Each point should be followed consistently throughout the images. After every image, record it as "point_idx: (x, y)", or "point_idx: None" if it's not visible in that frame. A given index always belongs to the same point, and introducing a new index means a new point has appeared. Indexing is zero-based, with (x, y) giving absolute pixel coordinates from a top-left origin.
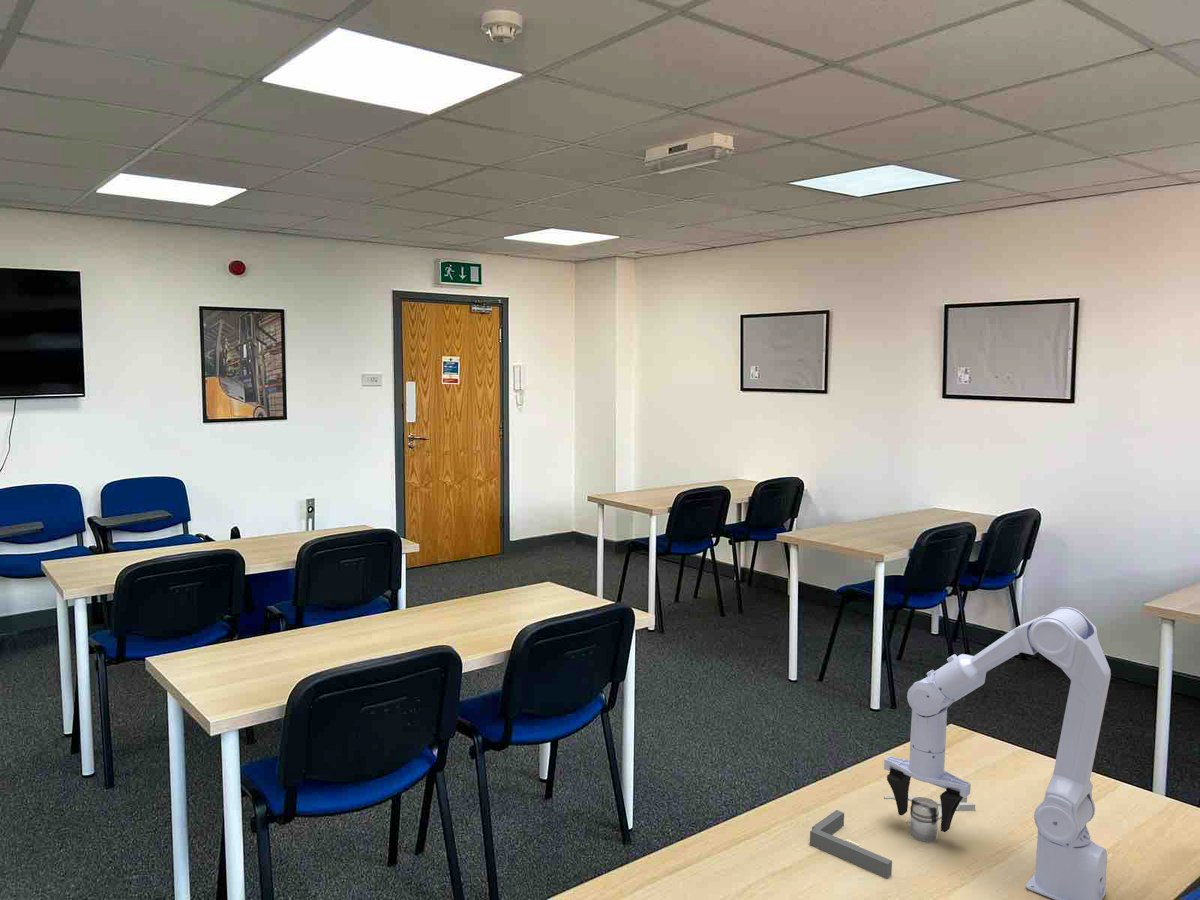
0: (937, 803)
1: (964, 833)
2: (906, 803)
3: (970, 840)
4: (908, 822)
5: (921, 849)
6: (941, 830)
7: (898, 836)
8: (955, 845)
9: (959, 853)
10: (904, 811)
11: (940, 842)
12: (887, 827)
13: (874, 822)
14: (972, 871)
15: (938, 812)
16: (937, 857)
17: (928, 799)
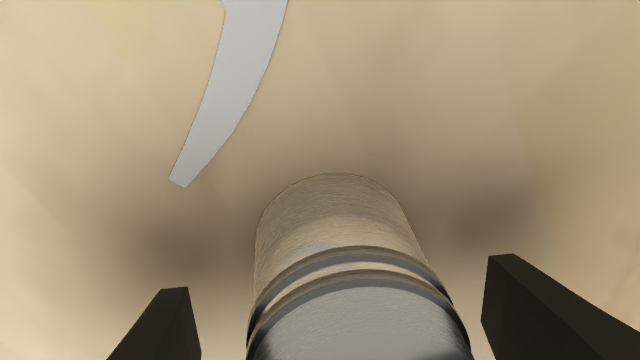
0: (463, 357)
1: (519, 4)
2: (176, 350)
3: (574, 67)
4: (185, 183)
5: None
6: (485, 326)
7: (240, 338)
8: (512, 193)
9: (551, 248)
10: (193, 336)
11: (433, 228)
12: (141, 310)
13: (57, 320)
14: None
15: (463, 330)
16: (472, 351)
17: (362, 355)
